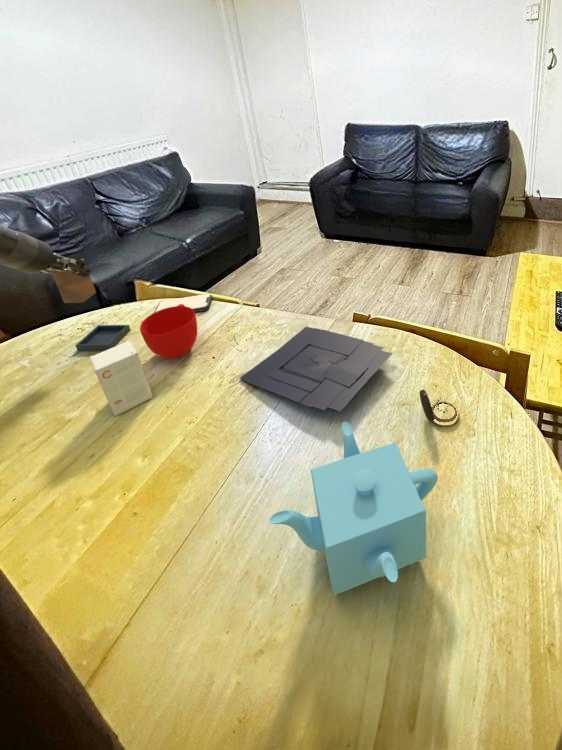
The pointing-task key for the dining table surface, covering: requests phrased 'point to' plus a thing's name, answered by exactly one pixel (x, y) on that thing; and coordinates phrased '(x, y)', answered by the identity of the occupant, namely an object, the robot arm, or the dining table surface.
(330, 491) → the teakettle
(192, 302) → the phone case
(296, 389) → the dark grey flat slab
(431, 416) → the compass
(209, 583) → the dining table surface
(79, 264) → the robot arm
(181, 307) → the ceramic cup
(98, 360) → the small box
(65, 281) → the pad block
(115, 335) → the cradle
